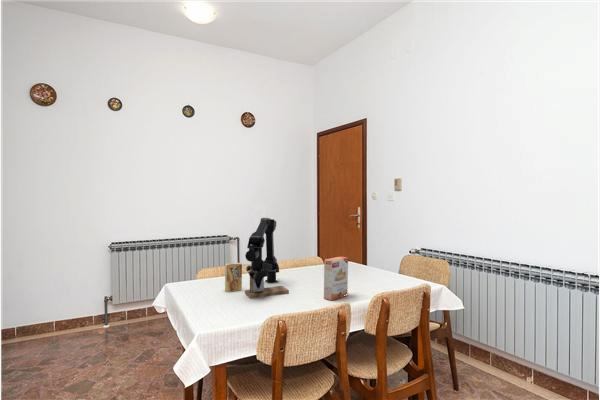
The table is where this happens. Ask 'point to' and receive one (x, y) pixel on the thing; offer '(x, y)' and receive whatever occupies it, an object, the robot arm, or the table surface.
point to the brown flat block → (267, 292)
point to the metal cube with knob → (254, 287)
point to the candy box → (233, 277)
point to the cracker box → (335, 277)
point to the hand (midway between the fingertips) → (256, 286)
